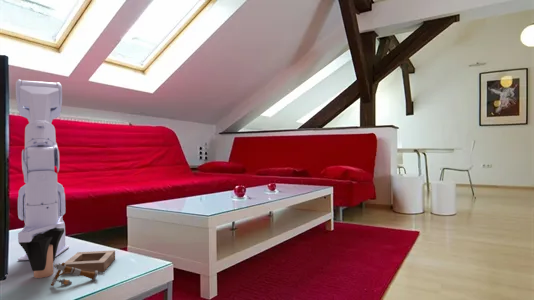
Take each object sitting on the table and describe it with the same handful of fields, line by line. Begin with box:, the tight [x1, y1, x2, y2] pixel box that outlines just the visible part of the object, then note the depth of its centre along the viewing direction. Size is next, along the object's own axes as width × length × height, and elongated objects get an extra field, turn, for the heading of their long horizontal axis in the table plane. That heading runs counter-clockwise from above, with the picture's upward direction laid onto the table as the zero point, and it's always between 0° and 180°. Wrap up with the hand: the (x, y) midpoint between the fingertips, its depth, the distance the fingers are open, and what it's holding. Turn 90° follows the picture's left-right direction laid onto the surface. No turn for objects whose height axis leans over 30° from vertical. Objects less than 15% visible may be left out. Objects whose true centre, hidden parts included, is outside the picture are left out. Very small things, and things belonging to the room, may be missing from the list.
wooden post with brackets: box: [50, 262, 99, 287], centre depth 69 cm, size 2×8×4 cm, turn 118°
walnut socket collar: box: [61, 250, 116, 275], centre depth 79 cm, size 8×8×2 cm
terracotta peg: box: [33, 244, 54, 279], centre depth 74 cm, size 4×4×6 cm
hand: (43, 266), depth 74 cm, fingers closed on terracotta peg, 3 cm apart
